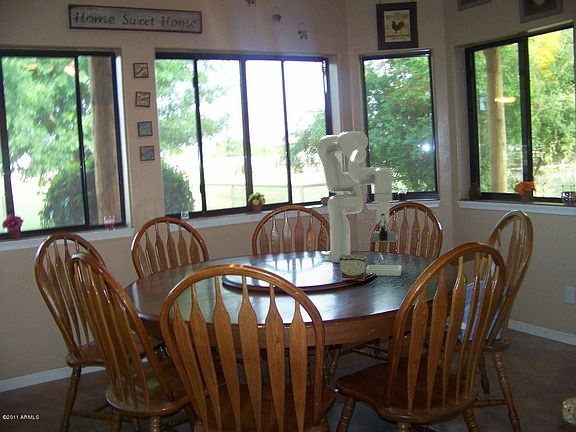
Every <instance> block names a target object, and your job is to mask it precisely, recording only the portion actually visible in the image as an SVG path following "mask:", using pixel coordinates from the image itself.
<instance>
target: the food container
mask: <svg viewBox="0 0 576 432" xmlns="http://www.w3.org/2000/svg"><path fill="white" fill-rule="evenodd" d="M338 261H340V262H339V268H340V276H341V279H342V278H361V279H365V278H366V268H367V263H369V262H368V261H369V260H368V258H367V256H366V255H363V254H362V255H361V254H350V255H343V256H340V257H339V259H338Z"/></svg>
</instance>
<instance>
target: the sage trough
mask: <svg viewBox="0 0 576 432" xmlns="http://www.w3.org/2000/svg"><path fill="white" fill-rule="evenodd" d="M366 273H375V274H376V275H375V276H395V277H396V276H398V277H399V276H402V264H401V265H399V264H398V265H397V264H396V265H395V264H394V265H390V264H388V265H387V264H383V265H381V264H366V269H365V274H366Z"/></svg>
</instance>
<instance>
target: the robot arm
mask: <svg viewBox="0 0 576 432" xmlns="http://www.w3.org/2000/svg"><path fill="white" fill-rule="evenodd" d="M368 144H369V138H368V136H367V135H366V134H365V132H363V131H344V132H341V133H340V134H339V135H338V134H337V135H336V134H334V135H332V134H331V135H325V136H322V137H321V138H320V139H319V140H318V144H317V154H318V157H319V159H320V162H321V164H322V168H323V173H324V177H325V182H326V186H327V189H328V191H329V193H332V194H333V193H336V194H335V195H332V196H330V197H329V198H328V200H327V209H328V215H329V216H328V217H329V235H330V236H329V238H330V239H329V242H330V245H329V246H330V247H329V248H330V250H329V251H321V252H320V253H321V255H320V256H321V257H327V261H328V262H330V263H340V261H338V259H339V257H340V256H343V255H351V225H350V221H349V219H348V217H347V215H351V214H354V215H355V214H359V213H361V212H362V211H363V209H364V200H363V199H364V198H363V195H362V189H361V186H369V185H370V186H371V185H372V186H374V187H373V190H374V191H373V192H374V197H373V199H374V202H376V224H377V225H379V233H380V241H387V231H388V232H389V230H388V224H389V222H390V221H389V220H390V202H392V201H393V170H392V169H391V168H389V167H381V166H380V167H379V166H372V167H371V166H369V167H361V166H360V165H359V164H361V163H363V161H364V160H365V159H366V157H367V151H366V149H367V147H368V146H369V145H368ZM334 154H343V155H345V157H346V159H348V162H347V170H348V171H346V172H345V171H343V170H342V168H343V167H342V163H341V161H340V159H338V157H337V156H336V155H334ZM337 193H345V194H337ZM346 193H347V194H346Z"/></svg>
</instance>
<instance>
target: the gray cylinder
mask: <svg viewBox="0 0 576 432" xmlns="http://www.w3.org/2000/svg"><path fill="white" fill-rule="evenodd" d="M379 231H380V230H379ZM379 231H371V242H372V243H373V242H374V243H375V242H379V243H381V242H382V243H383V242H384V243H385V242H386V243H387V242H388V243H391V242H393V243H394V242H396V241H397V240H398V234H396V231H389V230H388V231H387V241H380V233H379Z"/></svg>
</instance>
